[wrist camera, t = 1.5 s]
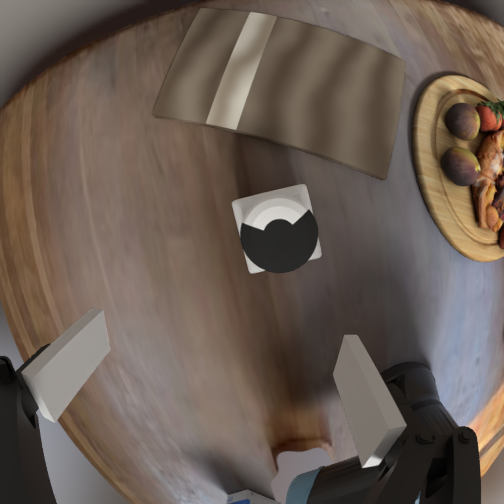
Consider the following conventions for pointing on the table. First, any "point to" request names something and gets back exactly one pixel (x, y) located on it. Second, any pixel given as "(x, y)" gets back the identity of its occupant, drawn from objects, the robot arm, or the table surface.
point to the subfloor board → (287, 87)
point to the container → (277, 229)
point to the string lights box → (249, 498)
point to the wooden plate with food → (462, 164)
